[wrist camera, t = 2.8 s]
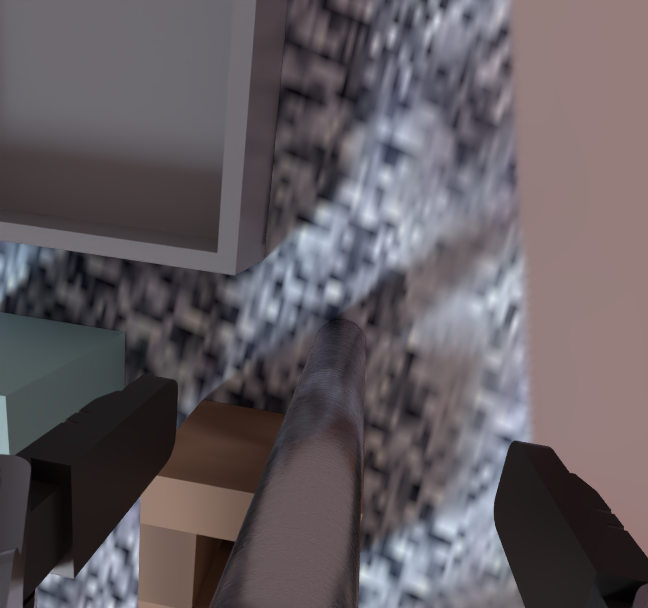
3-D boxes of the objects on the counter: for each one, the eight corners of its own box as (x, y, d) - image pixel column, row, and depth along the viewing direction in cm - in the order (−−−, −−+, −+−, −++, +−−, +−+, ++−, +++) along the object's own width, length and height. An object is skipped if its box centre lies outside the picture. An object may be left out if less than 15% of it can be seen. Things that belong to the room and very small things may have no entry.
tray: (-51, 213, 17) (-158, 216, 14) (-89, -191, 14) (-242, -321, 10) (264, 259, 16) (235, 275, 13) (303, -163, 13) (278, -296, 9)
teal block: (1, 434, 20) (-155, 532, 14) (-8, 310, 18) (-187, 362, 12) (124, 456, 19) (17, 567, 13) (125, 332, 18) (5, 396, 12)
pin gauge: (313, 362, 17) (191, 705, 5) (319, 315, 17) (200, 582, 5) (361, 370, 17) (343, 739, 5) (369, 323, 16) (367, 617, 5)
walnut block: (194, 534, 20) (137, 642, 15) (202, 399, 18) (141, 472, 13) (341, 563, 19) (332, 684, 14) (364, 427, 18) (362, 514, 13)
